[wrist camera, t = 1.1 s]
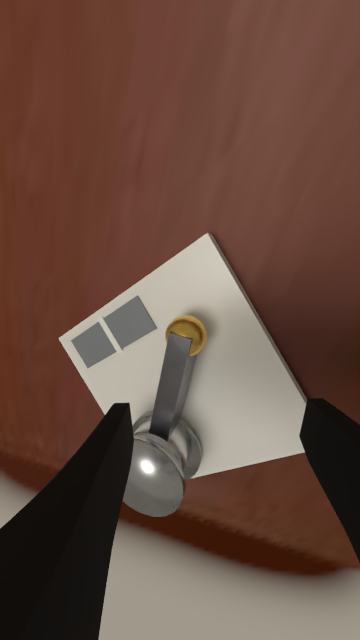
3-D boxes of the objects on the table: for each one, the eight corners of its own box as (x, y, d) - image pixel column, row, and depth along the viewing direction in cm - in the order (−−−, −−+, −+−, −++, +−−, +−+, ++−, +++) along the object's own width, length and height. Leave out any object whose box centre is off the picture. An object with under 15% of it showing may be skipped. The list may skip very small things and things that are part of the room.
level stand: (326, 433, 20) (330, 448, 18) (155, 476, 28) (148, 489, 26) (212, 234, 19) (206, 232, 18) (69, 334, 27) (56, 339, 25)
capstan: (192, 488, 24) (172, 546, 19) (128, 455, 26) (95, 501, 21) (242, 324, 18) (231, 349, 14) (156, 298, 20) (120, 313, 16)
